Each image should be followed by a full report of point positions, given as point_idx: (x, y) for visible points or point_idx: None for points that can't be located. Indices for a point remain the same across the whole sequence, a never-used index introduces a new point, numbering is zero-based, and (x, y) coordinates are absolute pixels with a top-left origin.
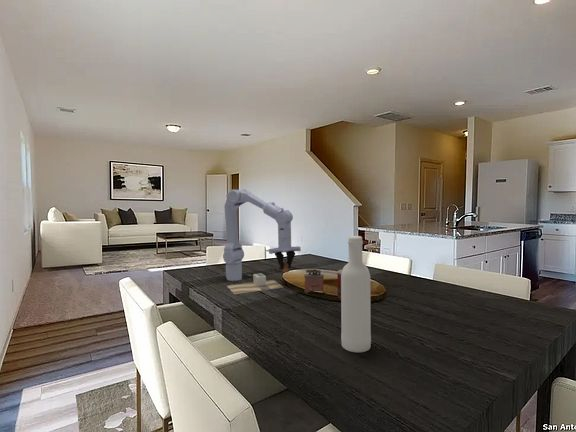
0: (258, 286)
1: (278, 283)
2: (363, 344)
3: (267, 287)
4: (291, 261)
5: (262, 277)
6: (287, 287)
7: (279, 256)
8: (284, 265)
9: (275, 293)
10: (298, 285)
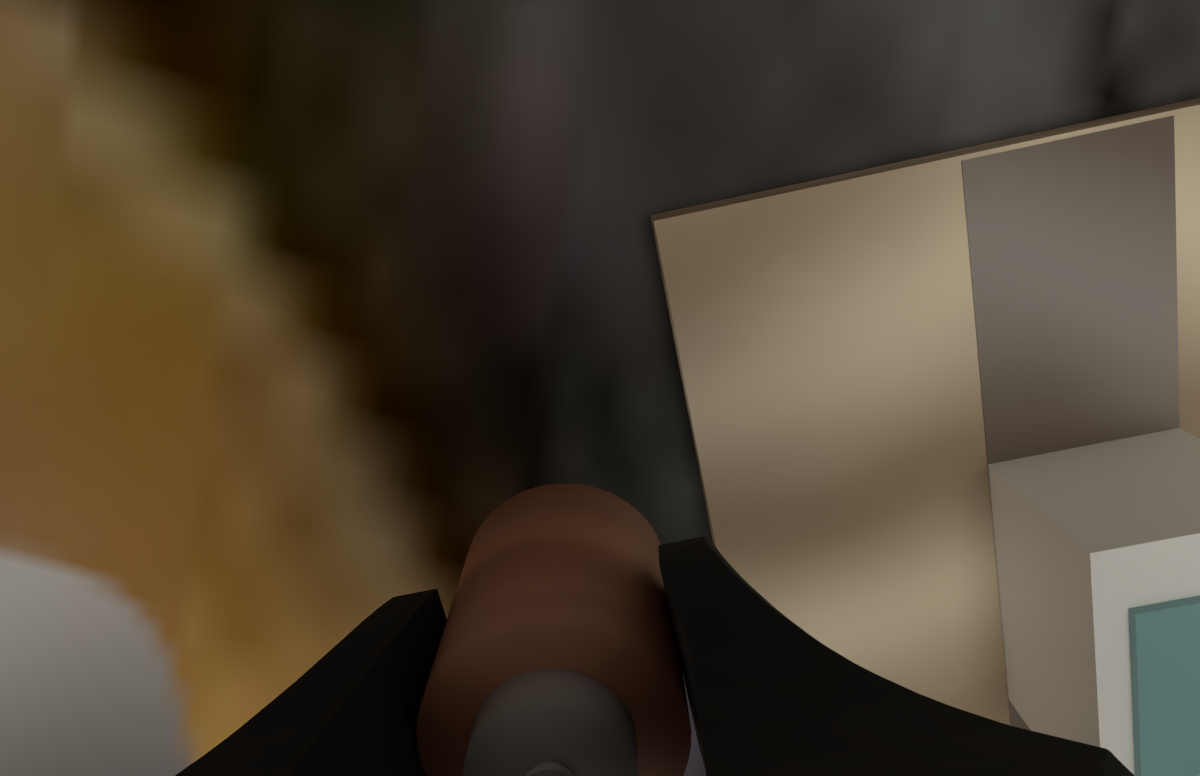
0: (1163, 409)
1: (712, 522)
2: None
3: (1004, 289)
4: (265, 725)
5: (1171, 526)
6: (551, 373)
7: (1065, 750)
8: (609, 602)
9: (875, 14)
10: (314, 450)
